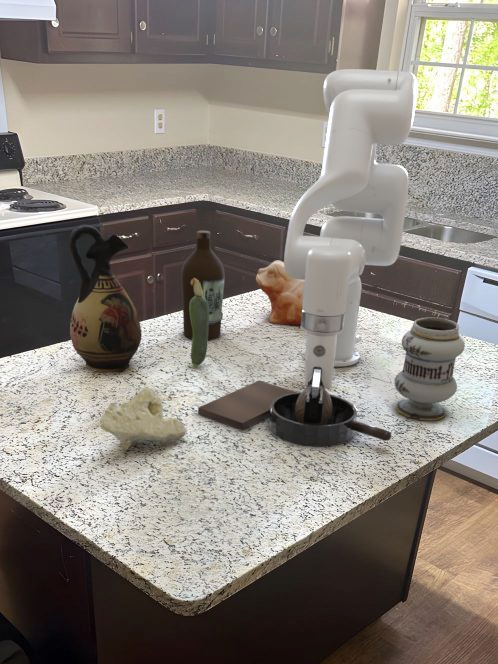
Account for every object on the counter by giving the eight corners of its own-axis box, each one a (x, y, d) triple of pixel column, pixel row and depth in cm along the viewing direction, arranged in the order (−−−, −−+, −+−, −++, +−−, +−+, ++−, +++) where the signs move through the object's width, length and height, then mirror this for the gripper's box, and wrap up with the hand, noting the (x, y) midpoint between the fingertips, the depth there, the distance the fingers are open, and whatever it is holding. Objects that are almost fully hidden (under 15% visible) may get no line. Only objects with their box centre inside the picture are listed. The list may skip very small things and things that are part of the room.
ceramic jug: (133, 352, 171) (129, 218, 155) (148, 375, 158) (145, 231, 143) (61, 358, 166) (49, 220, 150) (71, 381, 154) (58, 233, 138)
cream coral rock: (170, 433, 138) (106, 386, 132) (193, 414, 133) (128, 364, 127) (150, 490, 128) (79, 443, 122) (173, 472, 123) (101, 421, 117)
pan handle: (351, 426, 133) (352, 417, 132) (392, 440, 128) (393, 430, 127) (346, 429, 131) (347, 420, 130) (387, 443, 127) (389, 434, 126)
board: (258, 386, 154) (258, 380, 154) (301, 400, 149) (301, 393, 148) (198, 414, 141) (198, 407, 140) (242, 430, 135) (242, 423, 134)
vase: (333, 422, 139) (338, 379, 134) (325, 436, 133) (330, 391, 129) (298, 416, 141) (302, 373, 136) (289, 430, 135) (293, 386, 131)
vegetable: (209, 365, 165) (211, 276, 155) (206, 371, 161) (208, 280, 151) (190, 364, 165) (190, 274, 155) (187, 370, 162) (187, 279, 151)
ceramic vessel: (259, 308, 206) (262, 254, 198) (351, 318, 201) (357, 262, 193) (248, 322, 195) (251, 265, 187) (345, 332, 189) (352, 274, 182)
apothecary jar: (385, 417, 143) (400, 327, 133) (395, 395, 152) (408, 311, 143) (448, 427, 139) (467, 336, 130) (453, 405, 149) (471, 318, 140)
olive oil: (172, 333, 184) (172, 230, 171) (203, 326, 190) (204, 226, 177) (200, 344, 178) (202, 237, 165) (231, 335, 184) (235, 232, 171)
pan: (299, 404, 147) (301, 385, 145) (370, 426, 138) (372, 407, 136) (252, 428, 136) (253, 409, 134) (325, 454, 127) (327, 434, 125)
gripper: (343, 337, 119) (332, 433, 128) (344, 309, 133) (334, 397, 142) (298, 334, 120) (290, 429, 129) (304, 306, 134) (296, 393, 143)
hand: (313, 412), depth 135 cm, fingers open, 8 cm apart
